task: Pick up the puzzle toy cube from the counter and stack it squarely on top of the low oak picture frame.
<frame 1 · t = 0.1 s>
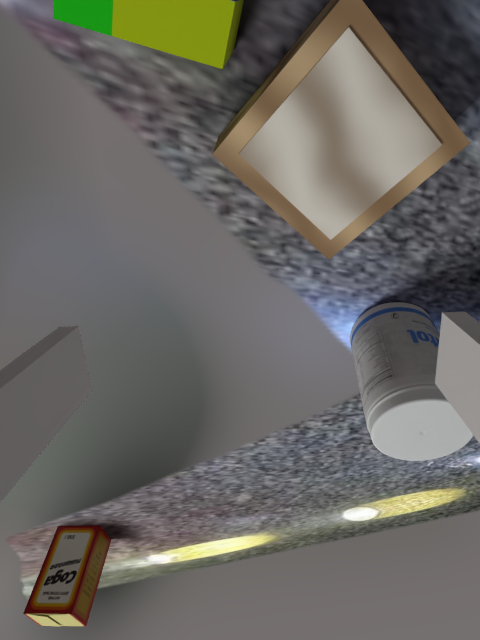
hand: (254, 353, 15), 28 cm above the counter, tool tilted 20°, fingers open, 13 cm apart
baking soda box: (85, 532, 89), on the counter
supplement tub: (388, 329, 50), on the counter
oak picture frame: (331, 132, 36), on the counter
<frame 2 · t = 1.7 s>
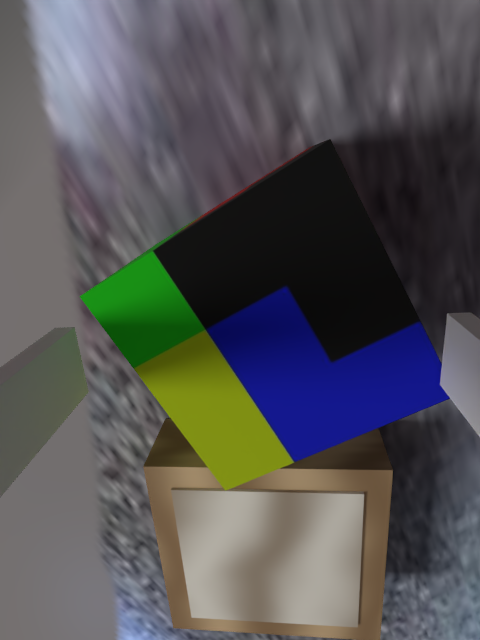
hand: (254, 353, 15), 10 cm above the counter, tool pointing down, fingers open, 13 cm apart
oak picture frame: (271, 500, 30), on the counter
puzzle toy: (273, 273, 24), on the counter, touching gripper
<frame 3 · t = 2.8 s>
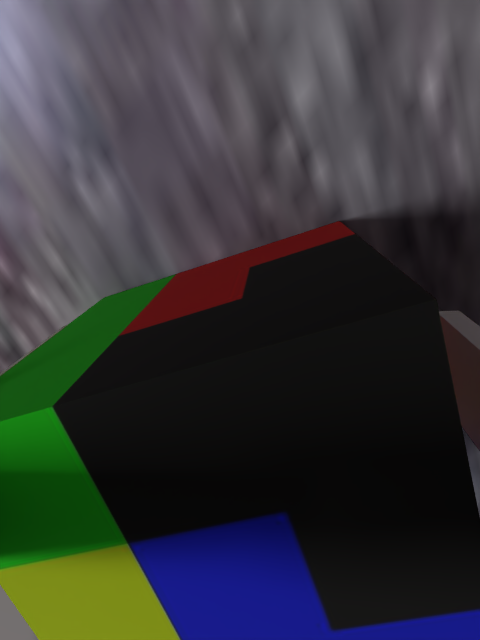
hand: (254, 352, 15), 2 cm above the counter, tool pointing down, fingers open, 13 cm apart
puzzle toy: (254, 367, 18), on the counter, touching gripper
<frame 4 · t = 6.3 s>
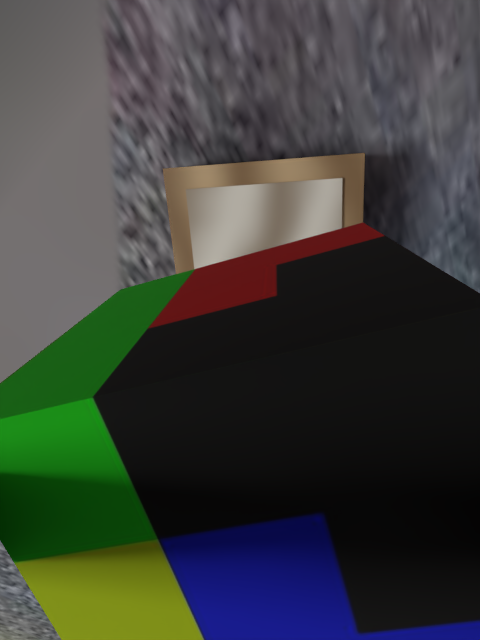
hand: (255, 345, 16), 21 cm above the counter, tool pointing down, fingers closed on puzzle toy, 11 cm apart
oak picture frame: (267, 249, 36), on the counter
puzzle toy: (268, 366, 18), point 19 cm above the counter, touching gripper
when the fingers open (8 cm above the counter, at t = 9.7 s): puzzle toy drops 1 cm, resting on oak picture frame.
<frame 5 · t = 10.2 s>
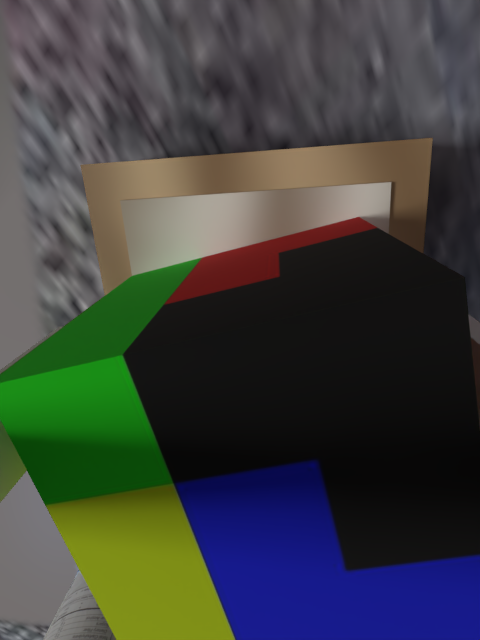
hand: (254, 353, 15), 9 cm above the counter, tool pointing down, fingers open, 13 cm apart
supplement tub: (146, 569, 32), on the counter
oak picture frame: (261, 289, 23), on the counter
puzzle toy: (268, 350, 19), point 5 cm above the counter, touching oak picture frame
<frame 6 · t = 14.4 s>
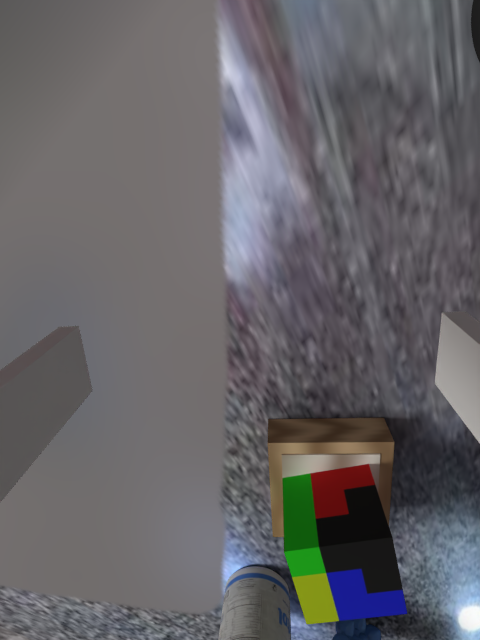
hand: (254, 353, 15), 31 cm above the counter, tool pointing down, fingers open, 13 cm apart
supplement tub: (257, 585, 62), on the counter
oak picture frame: (325, 465, 53), on the counter
puzzle toy: (332, 503, 49), point 5 cm above the counter, touching oak picture frame
grapes: (351, 616, 63), on the counter
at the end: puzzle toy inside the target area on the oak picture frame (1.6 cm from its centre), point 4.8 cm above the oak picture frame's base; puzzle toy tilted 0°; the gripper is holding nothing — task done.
